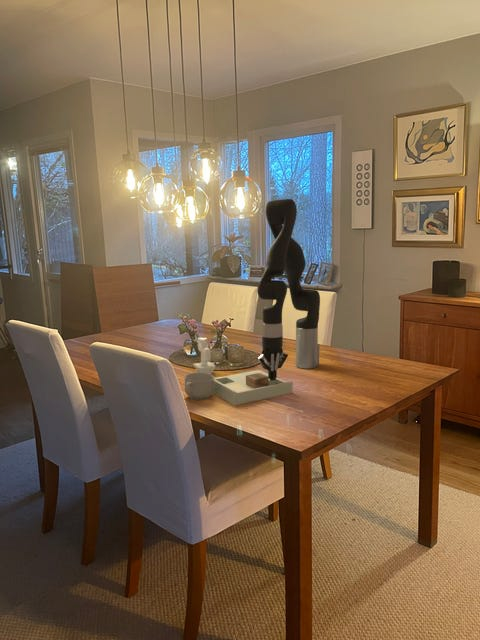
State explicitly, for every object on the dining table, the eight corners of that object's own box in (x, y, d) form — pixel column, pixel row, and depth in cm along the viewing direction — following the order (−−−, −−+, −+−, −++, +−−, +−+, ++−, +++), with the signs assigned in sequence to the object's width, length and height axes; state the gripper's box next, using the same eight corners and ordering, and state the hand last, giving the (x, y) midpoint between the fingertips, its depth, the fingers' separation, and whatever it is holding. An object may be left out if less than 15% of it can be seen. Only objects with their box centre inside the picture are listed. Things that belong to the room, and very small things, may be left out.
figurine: (200, 377, 217) (199, 341, 214) (192, 371, 225) (191, 336, 222) (217, 375, 220) (216, 339, 217) (208, 369, 228) (207, 335, 225)
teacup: (199, 390, 201) (198, 369, 200) (221, 396, 194) (220, 375, 193) (172, 400, 191) (171, 379, 189) (194, 407, 184) (193, 384, 182)
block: (259, 381, 201) (259, 372, 200) (268, 386, 196) (268, 376, 195) (245, 384, 198) (245, 375, 197) (254, 389, 193) (254, 379, 192)
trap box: (259, 376, 217) (258, 364, 216) (293, 393, 197) (293, 379, 196) (204, 387, 205) (203, 374, 204) (234, 405, 185) (234, 391, 184)
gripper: (281, 330, 202) (281, 374, 206) (251, 334, 196) (252, 380, 199) (293, 334, 196) (292, 379, 199) (262, 338, 190) (262, 385, 193)
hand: (272, 379), depth 199 cm, fingers closed
